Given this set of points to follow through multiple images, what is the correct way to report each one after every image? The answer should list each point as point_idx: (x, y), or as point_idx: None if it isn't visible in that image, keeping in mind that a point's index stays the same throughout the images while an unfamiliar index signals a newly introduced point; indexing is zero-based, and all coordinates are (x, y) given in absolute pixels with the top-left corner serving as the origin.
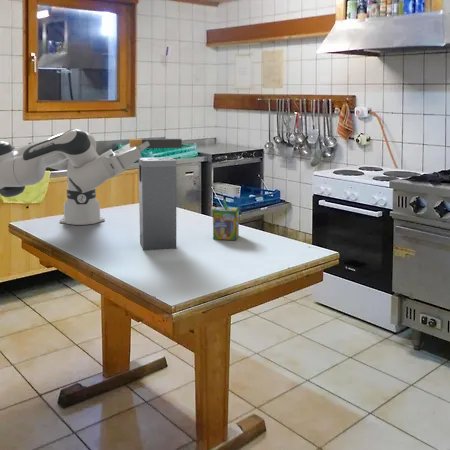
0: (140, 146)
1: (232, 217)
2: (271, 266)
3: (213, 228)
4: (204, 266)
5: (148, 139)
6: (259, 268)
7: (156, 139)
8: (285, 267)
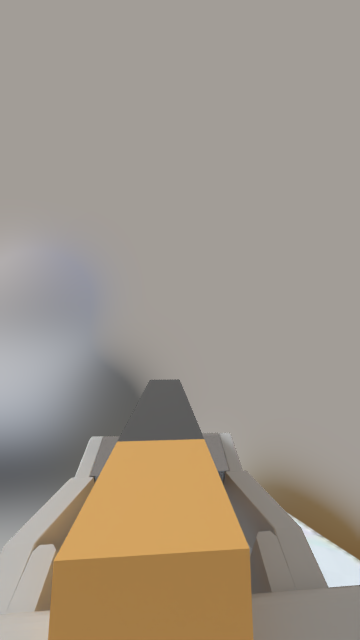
0: (287, 523)
1: None
2: (325, 558)
3: None
4: None
5: (188, 417)
6: (351, 583)
7: (185, 401)
8: (319, 539)
